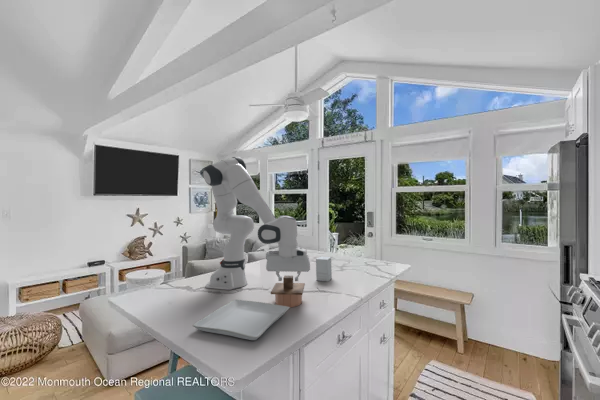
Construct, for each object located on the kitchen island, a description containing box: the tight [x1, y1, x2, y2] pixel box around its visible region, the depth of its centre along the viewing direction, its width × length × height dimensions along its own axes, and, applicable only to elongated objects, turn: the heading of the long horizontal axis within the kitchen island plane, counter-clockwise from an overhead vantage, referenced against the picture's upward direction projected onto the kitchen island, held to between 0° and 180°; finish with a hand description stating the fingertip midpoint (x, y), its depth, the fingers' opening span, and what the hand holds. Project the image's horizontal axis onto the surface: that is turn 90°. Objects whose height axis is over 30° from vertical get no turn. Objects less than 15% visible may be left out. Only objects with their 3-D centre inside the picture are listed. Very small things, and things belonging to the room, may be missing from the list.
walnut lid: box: [270, 275, 306, 296], centre depth 131 cm, size 14×14×6 cm
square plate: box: [192, 299, 291, 341], centre depth 110 cm, size 27×27×4 cm
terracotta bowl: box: [274, 294, 303, 308], centre depth 131 cm, size 12×12×6 cm
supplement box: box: [315, 256, 333, 282], centre depth 166 cm, size 7×7×13 cm
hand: (288, 280), depth 131 cm, fingers open, 6 cm apart
